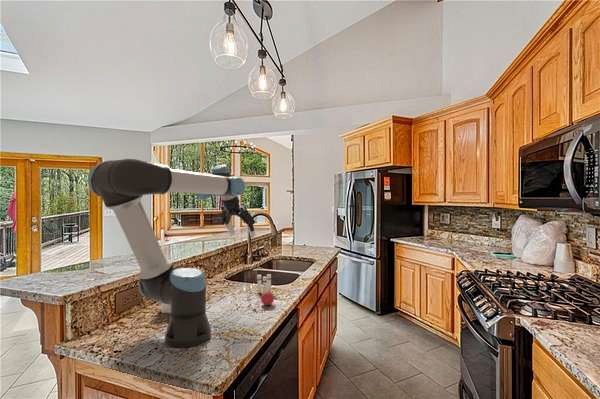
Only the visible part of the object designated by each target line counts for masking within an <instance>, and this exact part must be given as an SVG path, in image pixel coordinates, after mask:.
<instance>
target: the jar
mask: <svg viewBox="0 0 600 399" xmlns="http://www.w3.org/2000/svg"><path fill="white" fill-rule="evenodd" d="M160 312H161V313H162V314H171V312H170V305H169V304H165V303H161V302H160Z"/></svg>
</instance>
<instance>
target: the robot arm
mask: <svg viewBox="0 0 600 399" xmlns="http://www.w3.org/2000/svg"><path fill="white" fill-rule="evenodd" d="M87 184H88V187H89V189H90V191H91V192H93V193H94V194H95V195H96V196H97V197H100V198H101V199H102V202H103V204H104V206H105V207H106V209H107V208H108V209H109V210H112V211H113V212H114V215H115V216H116V219H117V220H118V223H119V225H120V227H121V229H122V231H123V233H124V236H125V238H126V241H127V242H128V244H129V247H130V249H131V251H132V253H133V255H134V257H135V260H136V261H137V263H138V266H139V268H140V271H139V272H138V277H139V281H138V291H139V292H140V294H141V295H142V296H143V297H144V298H145V299H148V300H149V301H152V302H157V303H160V304H161V303H165V304H169V305H170V312H171V313H170V316H169V317H170V318H169V322H168V324H167V326H166V331H165V334H164V343H165V344H166V346H168V347H171V348H177V349H178V348H183V349H184V348H191V347H193V346H194V347H195V346H199V345H201V344H204V343H205V342H207V341H208V340H209V339H211V336H212V329H211V327H212V326H211V325H210V322H209V319H208V317H207V314H206V313H207V312H206V310H207V309H206V308H207V281H206V273H205V272H203V271H202V270H201V269H198V268H194V267H191V268H190V267H181V268H175V265H174V264H173V262H172V261H171V259H169V258H166V257H165V255H164V252H163V250H162V248H161V245H160V243H159V241H158V238H157V236H156V234H155V231H154V229H153V226H152V225H151V222H150V219H149V217H148V215H147V212H146V210H145V208H144V206H143V203H142V201H141V200H142V198H143V196H147V195H149V196H150V195H166V194H167V193H168V192H171V193H185V194H186V193H187V194H195V195H196V197H197V198H198V199H200V200H203V201H204V200H207V199H209V198H210V197H213V196H214V197H215V196H216V197H219V196H220V199H221V202H222V204H223V205H222V206H221V207H220V208H221V223H223V224H225V225H226V229H227V230H228V233H229V235H230V236H231V237H232V236H233V235H235V234H236V232H235V229H234V225H233V223H232V221H231V220H232V219H231V218H232V216H237V217H238V218H240V220H242V221H243V222H244V223H245V224H246V225H247V228H246V229H247V231H248V234H249V237H250V239H253V238H254V237H255V236H256V232H255V228H254V225H255V224H256V220H255V219H254V217H253V216H252V215H251V213H250V212H249V211H248V209H247V206H246V205H243V206H240V199H239V196H240V195H241V196H242V195H243V194H244V192H245V188H246V184H245V181H244V179H243V178H242V177H240V176H239V177H238V176H232V175H231V171H230V169H229V167H228V165H226V164H218V165H216V166H213V167H212V168H211V174H209V173H201V172H194V171H189V170H181V169H172V168H170V167H169V166H168V165H167V164H162V163H157V162H151V161H147V160H142V159H141V160H140V159H137V158H123V159H116V160H115V159H114V160H112V159H111V160H106V161H102V162H99V163H97V164H95V165H94V166H93V167H92V168H91V169H90V171H89V172H88V175H87Z"/></svg>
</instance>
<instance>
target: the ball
mask: <svg viewBox="0 0 600 399" xmlns="http://www.w3.org/2000/svg"><path fill="white" fill-rule="evenodd" d="M274 300H275V296H274V294H273V292H272V291H271V292H264V293H263V292H262V294H261V296H260V302H261V303H262V304H263V305H265V306H270V305H272V304H273V303H274Z"/></svg>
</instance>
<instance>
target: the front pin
mask: <svg viewBox="0 0 600 399" xmlns="http://www.w3.org/2000/svg"><path fill="white" fill-rule="evenodd" d="M264 292H267V276H262V294H263V293H264Z"/></svg>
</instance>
